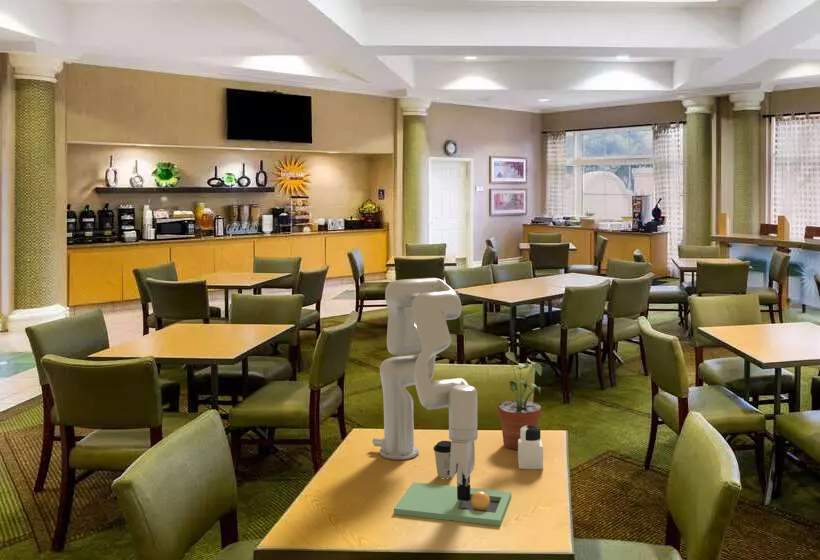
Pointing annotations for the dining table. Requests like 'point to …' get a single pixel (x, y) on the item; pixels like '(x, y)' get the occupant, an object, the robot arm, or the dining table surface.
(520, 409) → the potted plant
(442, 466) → the coffee cup
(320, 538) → the dining table surface
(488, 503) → the orange ball
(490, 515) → the mat
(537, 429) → the medicine bottle
